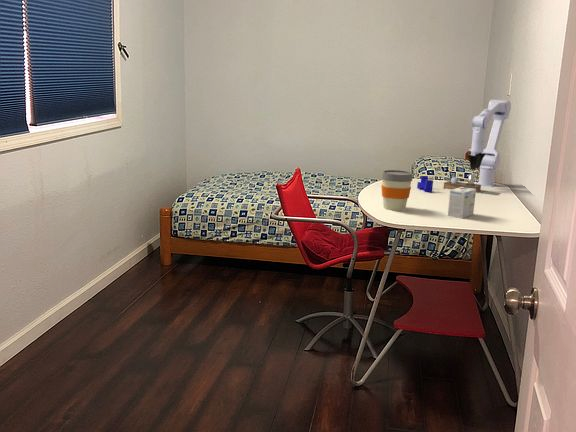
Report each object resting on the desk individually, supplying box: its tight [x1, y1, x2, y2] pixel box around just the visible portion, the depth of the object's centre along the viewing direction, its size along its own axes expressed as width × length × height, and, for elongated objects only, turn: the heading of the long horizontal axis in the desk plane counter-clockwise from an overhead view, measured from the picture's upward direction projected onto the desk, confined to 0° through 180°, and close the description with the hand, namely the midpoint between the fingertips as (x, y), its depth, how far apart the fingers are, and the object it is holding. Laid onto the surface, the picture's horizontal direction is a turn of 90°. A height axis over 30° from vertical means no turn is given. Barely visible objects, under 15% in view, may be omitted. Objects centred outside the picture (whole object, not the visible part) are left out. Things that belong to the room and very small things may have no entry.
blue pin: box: [450, 176, 459, 184], centre depth 320 cm, size 3×3×6 cm
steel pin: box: [467, 173, 476, 186], centre depth 316 cm, size 3×3×8 cm
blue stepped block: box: [416, 175, 434, 194], centre depth 313 cm, size 12×4×6 cm, turn 1°
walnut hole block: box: [443, 180, 482, 193], centre depth 319 cm, size 8×16×3 cm, turn 59°
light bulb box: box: [447, 187, 477, 219], centre depth 261 cm, size 11×7×11 cm, turn 141°
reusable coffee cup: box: [381, 169, 413, 212], centre depth 268 cm, size 13×13×15 cm
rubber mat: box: [480, 190, 502, 196], centre depth 312 cm, size 8×8×1 cm
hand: (475, 168), depth 319 cm, fingers open, 7 cm apart
